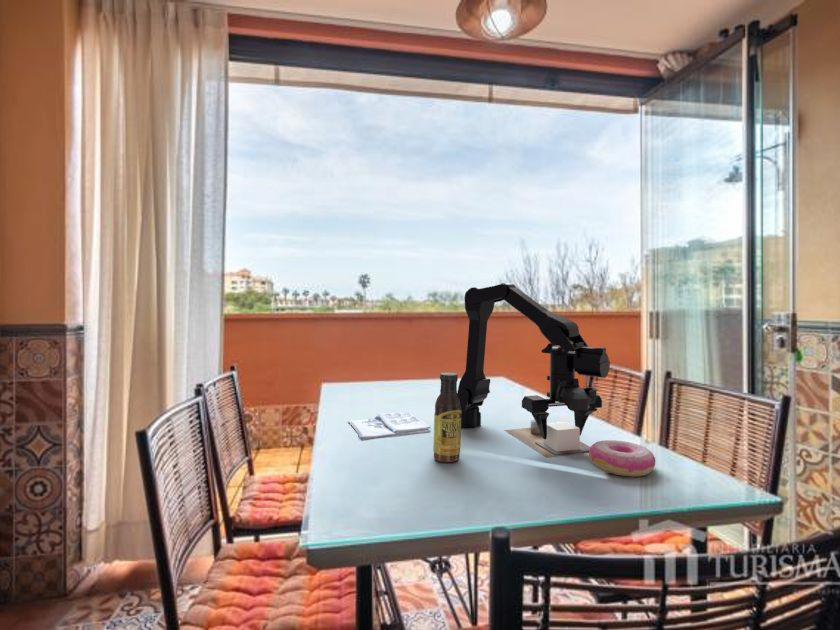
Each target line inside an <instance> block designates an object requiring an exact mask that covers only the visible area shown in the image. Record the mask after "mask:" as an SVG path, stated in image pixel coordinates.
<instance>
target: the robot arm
mask: <svg viewBox="0 0 840 630" xmlns="http://www.w3.org/2000/svg"><path fill="white" fill-rule="evenodd" d="M503 301H504V302H506V303H507V304H509V305H510V306H512V307H513V308H514V309H515V310H517V311H518V312H519V313H520V314H522V315H523V316H525V317H526V318H527V319H529V320H530V321H531V322H532V323H534V324H535V325H536V326H537V327H538V329H539V331H540V333H541V334H542V335H543V336H544V338H546V340H547V341H548V342H549V343H548V344H547V345H546V346H545V347H543V349H542V350H541V353H543V354H550V355H549V375H546V380H547V381H549V391H547V392H546V397H548V398H545V397H543V396H539V395H535V394H534V395H524V396H523V398H522V399H521V408H522V409H524V410H526V412H529V413H530V414H531V415H532V417H533V420H535V421H536V423H537V426H538V428H539V430H540V433H541V435H542V438H543V439H546V438H547V423H548V422H547V421H548V417H549V416H550V413H549V412H547V411H548V410H549V408H550V407H563V406H566V407H567V409H568V410H569V411H570V412H571V411H572V412H573V414H574V415H573V416H574V417H573V418H574V426H576V427H578V428H580V436H581V435H582V433H583V430H584V427H585V425H586V422H587V420H588V419H589V417H590V415H591V414H592V413H594V412H597V411H598V409H601V408H603V399H602V397H601V396H600V395H599V394H597V389H596V388H594V386H591V387H589V386H588V387H580V383H579V381H580V380H579V379H578V378H577V377H576V373H577V374H578V375H579V376H584V377H591V378H600V379H601V378H602V379H606V378H607V377H608V375H609V372H610V367H611V362H610V359H609V356H608V353H607V348H606V347H604V346H603V347H602V346H601V347H600V346H599V347H591V346H589V345H588V344H587V343H586V341H585V339H584V338H583V337H582V335H581V333H580V331H579V330H580V329H579V326H578V324H577V323H576V322H574V321H573V320H571V319H569V318H567V317H565V316H562V315H559V314H557V313H554V312H551V311H550V310H548V309H547V308H545V307H544V306H543V305H542V304H540V303H538V302H537V301H535V300H534V299H533V298H532V297H530V296H529V295H527V294H526V293H524V291H522V290H521V289H519V288H518V287H517V286H516V285H515V284H514V283H507V282H506V283H505V282H501V283H499V284H497V285H493V286H486V287H485V286H483V287H470V288H469V289H468V290H467V291H465V294H464V309H465V313H466V315H467V318H468V320H469V321H468V333H467V334H468V335H467V346H466V347H467V349H466V358H465V359H466V361H465V370H464V372H463V375H462V377H461V378H460V380H459V383H458V389H457V395H458V398H459V401H460V406H461V429H466V430H467V429H470V430H471V429H475V428H477V427H481V426H482V413H481V412H480V407H481V406H483V404H484V401H485V400H486V399H487V398H488V394H490V393H491V390H490V385H491V378H486V375H485V373H484V367H485V354H486V353H485V352H486V341H487V327H488V321H489V318H490V316H491V315H492V313H493V311H494V309H495V304H496V303H499V302H503Z"/></svg>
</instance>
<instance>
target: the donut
mask: <svg viewBox="0 0 840 630" xmlns="http://www.w3.org/2000/svg"><path fill="white" fill-rule="evenodd" d="M588 457H589V459H590V462H591V463H592V464H593V466H595V467H597V468H599V469H601V470H604V471H605V473H609V474H612V475H616V476H617V475H618V476H624V477H632V478H634V477H643V476H647V475H648V474H650V473H652V471H653V470H654V468H655V467H656V457H655V455H654V454H653V452H652V451H651V450H650V449H649V448H647V447H645V446H643V445H641V444H638V443H635V442H629V441H623V440H613V439H611V440H610V439H608V440H599V441H596V442H595V443H593V444H592V445H591V446H590V449H589V453H588Z"/></svg>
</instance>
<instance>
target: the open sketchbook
mask: <svg viewBox="0 0 840 630" xmlns="http://www.w3.org/2000/svg"><path fill="white" fill-rule="evenodd" d="M347 423H348V424H349V423H350V424H351V425H352V426H351V425H350V424H349V425H350V426H351V427H352V428H353V429H354V430H355V433H357V434H358V437H359V439H360V440H362V439H364V440H371V438H372V439H379V438H389V437H397V435H399V436H408V435H415V434H417V435H418V434H427V433H431V430H430V429H431V425H428V424H427V423H426V422H424V421H422V420H421V419H419V418H417V417H416V416H415V415H413V414H411V413H410V412H407V411H406V412H405V411H404V412H391V413H387V412H386V413H377V415H376V416H375V417H374V418H369V419H368V418H367V419H359V420H351V419H350V420H348V421H347ZM381 425H386V427H387V428H386V427H384V426H382V427H381ZM383 427H384V428H383Z"/></svg>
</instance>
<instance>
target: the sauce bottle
mask: <svg viewBox="0 0 840 630" xmlns="http://www.w3.org/2000/svg"><path fill="white" fill-rule="evenodd" d="M439 375H440V376H439V380H440V389H439V390H440V391H439V395H438V397H437V398H436V401H435V403H434V404H435V405H434V416H433V417H434V419H433V421H434V422H433V459H434V460H436V461H437V462H440V463H454V462H456V461H459V459H460V454H461V441H462V439H461V437H462V428H461V406H460V401H459V398H458V395H457V392H458V389H457V386H458V385H457V384H458V380H459V377H458V373H456V372H441V373H439Z"/></svg>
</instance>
